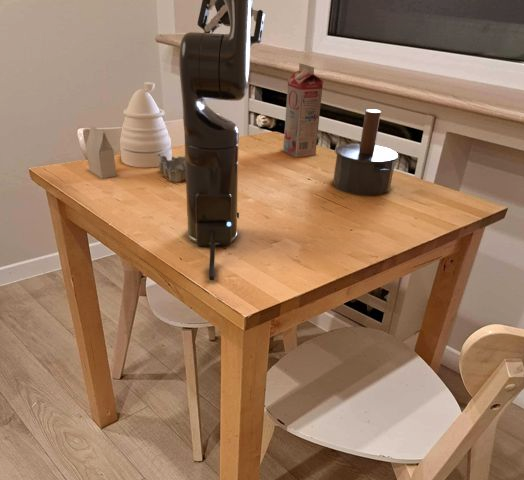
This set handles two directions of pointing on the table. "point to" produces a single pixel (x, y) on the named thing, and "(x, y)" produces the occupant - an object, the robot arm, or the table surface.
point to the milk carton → (302, 112)
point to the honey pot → (144, 131)
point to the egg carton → (173, 168)
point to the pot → (362, 177)
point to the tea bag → (100, 154)
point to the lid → (368, 144)
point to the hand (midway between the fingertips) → (224, 57)
